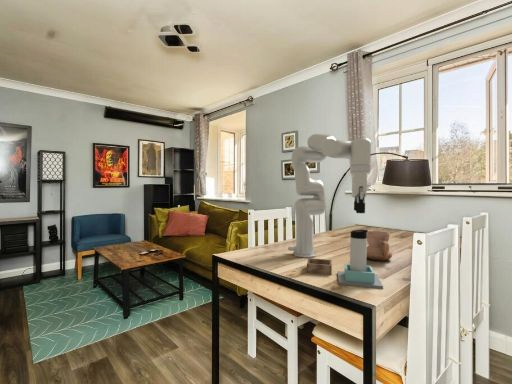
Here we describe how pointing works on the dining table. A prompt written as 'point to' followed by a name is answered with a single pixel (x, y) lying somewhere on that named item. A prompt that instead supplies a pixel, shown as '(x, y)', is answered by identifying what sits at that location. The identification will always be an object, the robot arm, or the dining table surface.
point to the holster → (319, 266)
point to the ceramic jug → (378, 245)
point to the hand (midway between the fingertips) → (359, 211)
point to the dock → (359, 278)
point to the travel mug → (358, 250)
